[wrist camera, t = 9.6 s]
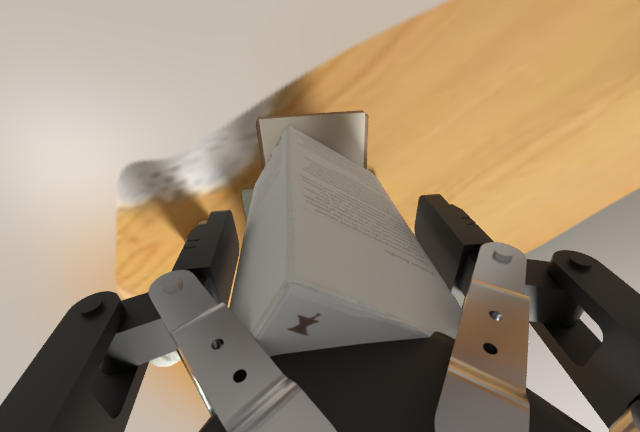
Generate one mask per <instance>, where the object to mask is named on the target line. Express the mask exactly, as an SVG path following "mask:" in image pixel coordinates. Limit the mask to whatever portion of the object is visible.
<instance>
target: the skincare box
mask: <svg viewBox="0 0 640 432" xmlns="http://www.w3.org/2000/svg"><path fill="white" fill-rule="evenodd" d="M229 309H230V311H231V312H232V313H233V314H234V315H235V317H236V318H237V319H238V320H239V321H240V323H241V324H242V325H243V326H244V327H245V329H246V330H247V331H248V332H249V333H250V335H251V336H252V337H253V338H254V339H255V341H256V342H257V343H258V344H259V345H260V346H261V348H262V349H263V350H264V351H265V352H266V354H267V355H268V356H269V357H271V356H275V355H280V354H286V353H294V352H301V351H309V350H317V349H324V348H332V347H340V346H348V345H356V344H365V343H374V342H384V341H394V340H406V339H416V338H427V337H431V335H432V334H433V332H436V331H437V332H441V333H444V334H446V335H448V336H450V337H452V338H454V339H455V337H456V334H457V330H458V323H459V319H460V315H461V312H462V308H461V307H460V305H459V304H458V302H457V300H456V299H455V297H454V296H453V294H452V293H451V291H450V290H449V288H448V287H447V285H446V283H445V282H444V280H443V279H442V277H441V276H440V274H439V273H438V271H437V270H436V268H435V266H434V265H433V263H432V262H431V260H430V259H429V257H428V256H427V254H426V253H425V251H424V250H423V248H422V247H421V245H420V243H419V242H418V240H417V239H416V237H415V236H414V234H413V232H412V231H411V230H410V228H409V227H408V225H407V223H406V222H405V220H404V219H403V217H402V216H401V214H400V213H399V211H398V210H397V208H396V207H395V205H394V204H393V202H392V201H391V199H390V197H389V196H388V194H387V193H386V191H385V190H384V188H383V187H382V185H381V183H380V182H379V180H378V179H377V177H376V176H375V174H374V173H372V172H370V171H368V170H367V169H365V168H363V167H361V166H360V165H358V164H356V163H354V162H353V161H351V160H349V159H347V158H346V157H344V156H342V155H340V154H339V153H337V152H335V151H333V150H332V149H330V148H328V147H326V146H325V145H323V144H321V143H320V142H318V141H316V140H314V139H312V138H311V137H309V136H307V135H305V134H304V133H302V132H300V131H298V130H297V129H295V128H293V127H292V126H290V125H287V126H286V128H285V130H284V131H283V133H282V135H281V137H280V139H279V141H278V143H277V144H276V146H275V148H274V150H273V151H272V153H271V155H270V157H269V159H268V161H267V163H266V165H265V167H264V169H263V171H262V173H261V175H260V176H259V178H258V180H257V182H256V184H255V186H254V190H253V195H252V200H251V204H250V209H249V214H248V219H247V224H246V229H245V234H244V239H243V244H242V248H241V253H240V259H239V264H238V268H237V274H236V278H235V282H234V287H233V293H232V298H231V303H230V307H229Z"/></svg>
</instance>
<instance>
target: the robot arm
mask: <svg viewBox="0 0 640 432" xmlns="http://www.w3.org/2000/svg"><path fill="white" fill-rule="evenodd" d="M415 236H416V239H417V240H418V242H419V243H420V245H421V247H422V248H423V250H424V251H425V253H426V254H427V256H428V257H429V259H430V260H431V262H432V263H433V265H434V266H435V268H436V270H437V271H438V273H439V274H440V276H441V277H442V279H443V280H444V282H445V283H446V285H447V287H448V288H449V290H450V291H451V293H452V294H462V293H463V294H464V296H465V298H464V302H463V305H462V312H461V315H460V319H459V323H458V330H457V334H456V337H455V339H454V338H452V337H450V336H448V335H446V334H444V333H441V332H437V331H436V332H433V334H432V335H431V337H427V338H416V339H406V340H394V341H384V342H374V343H365V344H356V345H348V346H340V347H332V348H324V349H317V350H309V351H301V352H294V353H286V354H280V355H275V356H271V357H269V356H268V355H267V354H266V352H265V351H264V350H263V349H262V348H261V346H260V345H259V344H258V343H257V342H256V341H255V339H254V338H253V337H252V336H251V335H250V333H249V332H248V331H247V330H246V329H245V327H244V326H243V325H242V324H241V323H240V321H239V320H238V319H237V318H236V317H235V315H234V314H233V313H232V312H231V311H230V309H229V308H228V307H227V305H228V301H229V297H230V292H231V288H232V283H233V279H234V274H235V270H236V265H237V261H238V256H239V241H238V236H237V232H236V228H235V224H234V219H233V215H232V212H231V211H230V210H225V211H212V212H211V213H210V216H209V218H208V220H207V223H206V224H199V225H198V226H197V227H196V228H195V229H194V230H192V231H191V232H190V235H189V237H188V239H187V242H186V243H185V245H184V247H183V249H182V251H181V253H180V255H179V257H178V259H177V261H176V263H175V265H174V267H173V269H172V271H171V272H169V273H166V274H164V275H162V276H161V277H159V278H158V279H156V280H155V281H154V282H153V283H152V285H151V286H150V288H149V291H148V292H147V293H145V294H142V295H138V296H135V297H132V298H129V299H126V300H122V301H121V300H120V298H119V296H118V295H117V294H116V293H114V292H110V291H105V292H99V293H95V294H92V295H90V296H88V297H86V298H84V299H82V300H80V301H79V302H77V303H76V304H75V305H74V306H72V307H71V308H70V309H69V311H68V312H67V313H66V315H65V316H64V317H63V319H62V320H61V322H60V323H59V324H58V326H57V327H56V329H55V330H54V331H53V333H52V334H51V336H50V337H49V338H48V340H47V341H46V343H45V344H44V345H43V347H42V348H41V350H40V351H39V352H38V354H37V355H36V357H35V358H34V359H33V361H32V362H31V364H30V365H29V366H28V368H27V369H26V371H25V372H24V373H23V375H22V376H21V378H20V379H19V380H18V382H17V383H16V385H15V386H14V387H13V389H12V390H11V392H10V393H9V394H8V396H7V397H6V399H5V400H4V401H3V403H2V404H1V406H0V432H124V431H125V428H126V425H127V422H128V419H129V416H130V414H131V411H132V408H133V405H134V403H135V400H136V397H137V394H138V392H139V389H140V386H141V383H142V380H143V378H144V375H145V372H146V369H147V366H148V363H149V361H151V360H153V359H156V358H158V357H161V356H164V355H166V354H169V353H171V352H174V351H176V352H177V353H178V355H179V357H180V359H181V361H182V363H183V364H184V366H185V368H186V370H187V372H188V373H189V375H190V377H191V379H192V381H193V383H194V384H195V386H196V388H197V390H198V392H199V394H200V396H201V398H202V399H203V401H204V403H205V405H206V407H207V409H208V411H209V413H210V415H211V417H210V418H209V420H208V421H207V422H206V423H205V425H204V426H203V427H202V428H201V430H200V431H199V432H591V431H590V430H588V429H587V428H585V427H584V426H582V425H581V424H579V423H578V422H576V421H575V420H573V419H572V418H570V417H569V416H568V415H566V414H565V413H563V412H562V411H560V410H559V409H557V408H556V407H554V406H553V405H551V404H550V403H548V402H547V401H546V400H544V399H543V398H541V397H540V396H538V395H537V394H535V393H534V392H532V391H531V390H529V389H528V388H526V376H527V354H528V334H529V323H530V324H531V325H532V327H533V328H534V330H535V331H536V332H537V334H538V335H539V336H540V337H541V339H542V340H543V342H544V343H545V344H546V346H547V347H548V348H549V350H550V351H551V352H552V353H553V355H554V356H555V358H556V359H557V360H558V362H559V363H560V364H561V365H562V367H563V368H564V370H565V371H566V372H567V374H568V375H569V376H570V378H571V379H572V380H573V382H574V383H575V384H576V386H577V387H578V388H579V390H580V391H581V392H582V394H583V395H584V396H585V398H586V399H587V400H588V402H589V403H590V404H591V406H592V407H593V408H594V410H595V411H596V412H597V414H598V415H599V416H600V418H601V419H602V420H603V422H604V423H605V424H606V426H607V427H608V428H609V432H640V294H639V293H638V292H636V291H635V290H634V289H633V288H631V287H630V286H629V285H628V284H626V283H625V282H624V281H623V280H621V279H620V278H619V277H618V276H616V275H615V274H614V273H613V272H611V271H610V270H609V269H608V268H606V267H605V266H604V265H603V264H601V263H600V262H599V261H597V260H596V259H594V258H592V257H590V256H588V255H586V254H582V253H579V252H575V251H569V250H562V251H557V252H555V253H554V254H553V257H552V259H551V261H550V262H547V261H539V260H530V259H526V257H525V255H524V254H523V253H522V252H521V251H520V250H518V249H516V248H515V247H513V246H510V245H507V244H504V243H498V242H494V241H493V240H492V239H491V238H490V237H489V236H488V235H487V234H486V233H485V232H484V231H483V230H482V229H481V228H480V227H479V226H478V225H476V224H475V222H474V221H473V220H472V219H470V217H469V216H468V215H467V214H466V213H465V212H464V211H463V210H462V209H460V208H458V207H456V206H454V205H453V204H448V202H447V201H446V200H445V199H444V198H443V197H442V196H441V195H440V194H433V195H422V196H420V198H419V201H418V207H417V214H416V220H415ZM583 311H585V312H586V313H587V314H588V315H589V316H590V317H591V318H592V319H593V320H594V321H595V322H596V323H597V324H598V325H599V327H600V328H601V330H602V333H603V342H601V341H600V340H599V339H598V338H597V337H596V336H595V335H594V334H593V333H592V332H591V330H590V329H589V328H588V327H587V326H586V325H585V324H584V323H583V322H582V321H581V320H580V319H579V318H580V316H581V315H582V313H583Z"/></svg>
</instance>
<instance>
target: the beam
mask: <svg viewBox="0 0 640 432" xmlns="http://www.w3.org/2000/svg"><path fill="white" fill-rule="evenodd" d="M287 125H290V126H292V127H293V128H295V129H297V130H298V131H300V132H302V133H304V134H305V135H307V136H309V137H311V138H312V139H314V140H316V141H318V142H320V143H321V144H323V145H325V146H326V147H328V148H330V149H332V150H333V151H335V152H337V153H339V154H340V155H342V156H344V157H346V158H347V159H349V160H351V161H353V162H354V163H356V164H358V165H360V166H361V167H363V168H365V169H366V168H367V140H368V115H367V114H366V113H365V112H363V111H347V112H332V113H317V114H302V115H287V116H272V117H258V119H257V122H256V128H257V135H258V141H259V148H260V154H261V161H262V168H263V169H264V167H265V165H266V163H267V161H268V159H269V157H270V155H271V153H272V151H273V150H274V148H275V146H276V144H277V143H278V141H279V139H280V137H281V135H282V133H283V131H284V130H285V128H286V126H287Z"/></svg>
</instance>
